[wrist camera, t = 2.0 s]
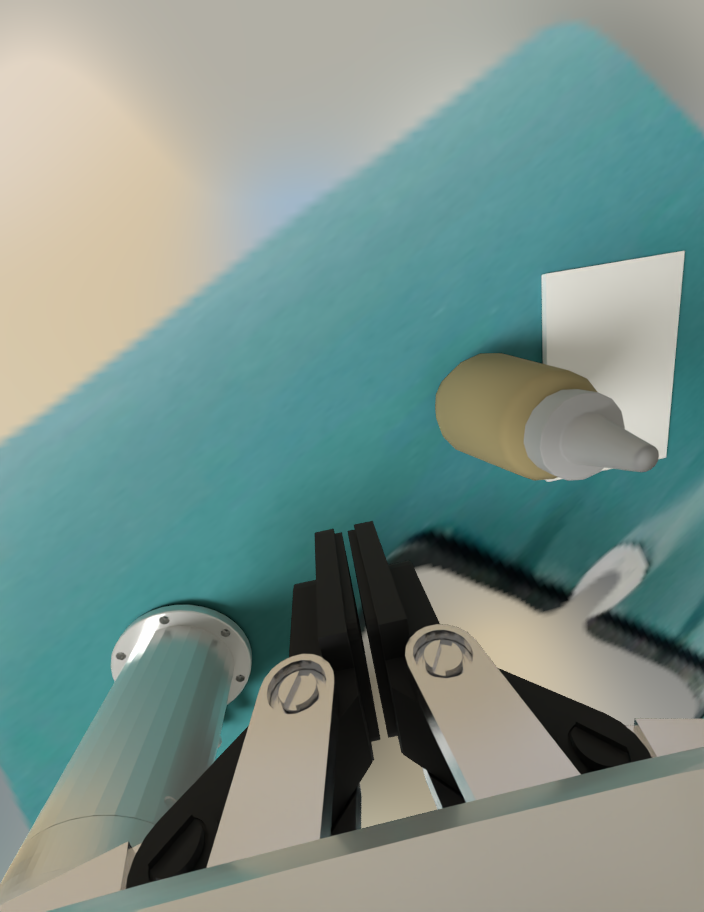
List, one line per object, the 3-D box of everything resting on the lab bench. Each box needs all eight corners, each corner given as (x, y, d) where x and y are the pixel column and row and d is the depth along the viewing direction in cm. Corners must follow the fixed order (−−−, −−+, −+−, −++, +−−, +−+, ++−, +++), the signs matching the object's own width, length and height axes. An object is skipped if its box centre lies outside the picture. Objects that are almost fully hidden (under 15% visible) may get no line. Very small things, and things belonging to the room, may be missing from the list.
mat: (660, 455, 37) (666, 457, 36) (544, 479, 36) (547, 481, 35) (677, 252, 31) (684, 250, 31) (541, 275, 30) (546, 273, 30)
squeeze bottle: (414, 363, 31) (547, 384, 14) (506, 342, 32) (745, 336, 14) (429, 454, 34) (558, 566, 16) (514, 432, 34) (727, 520, 17)
